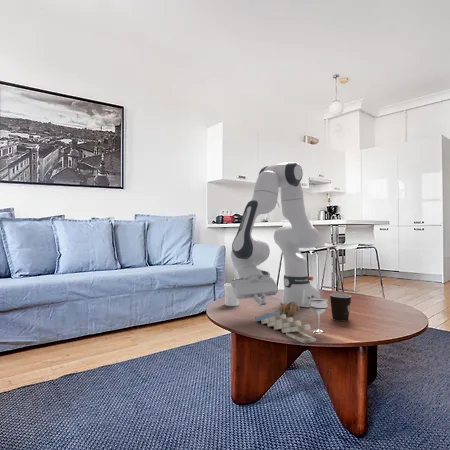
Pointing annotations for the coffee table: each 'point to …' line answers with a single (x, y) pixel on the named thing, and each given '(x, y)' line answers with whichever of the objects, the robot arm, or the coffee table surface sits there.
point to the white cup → (230, 295)
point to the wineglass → (318, 308)
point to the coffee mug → (340, 306)
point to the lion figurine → (289, 309)
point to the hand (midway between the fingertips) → (262, 304)
